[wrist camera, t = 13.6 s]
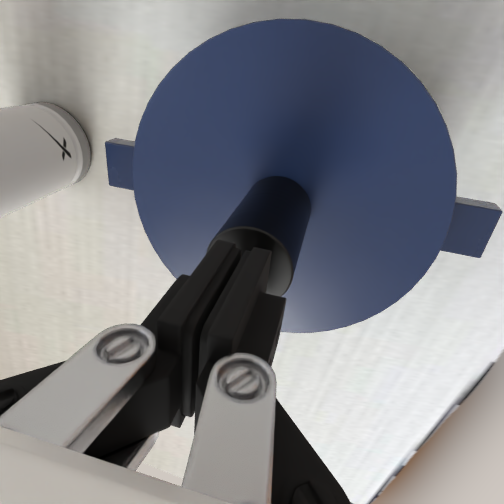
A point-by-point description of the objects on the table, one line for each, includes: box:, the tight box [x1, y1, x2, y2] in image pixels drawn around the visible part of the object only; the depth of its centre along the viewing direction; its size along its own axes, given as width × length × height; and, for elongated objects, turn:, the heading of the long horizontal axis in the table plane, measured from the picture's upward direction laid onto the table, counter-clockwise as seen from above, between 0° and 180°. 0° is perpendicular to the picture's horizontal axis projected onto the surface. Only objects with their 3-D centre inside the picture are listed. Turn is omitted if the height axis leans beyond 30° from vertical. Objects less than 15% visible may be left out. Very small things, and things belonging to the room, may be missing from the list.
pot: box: [105, 138, 502, 258], centre depth 21 cm, size 14×19×8 cm
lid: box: [133, 19, 457, 333], centre depth 15 cm, size 15×15×7 cm
